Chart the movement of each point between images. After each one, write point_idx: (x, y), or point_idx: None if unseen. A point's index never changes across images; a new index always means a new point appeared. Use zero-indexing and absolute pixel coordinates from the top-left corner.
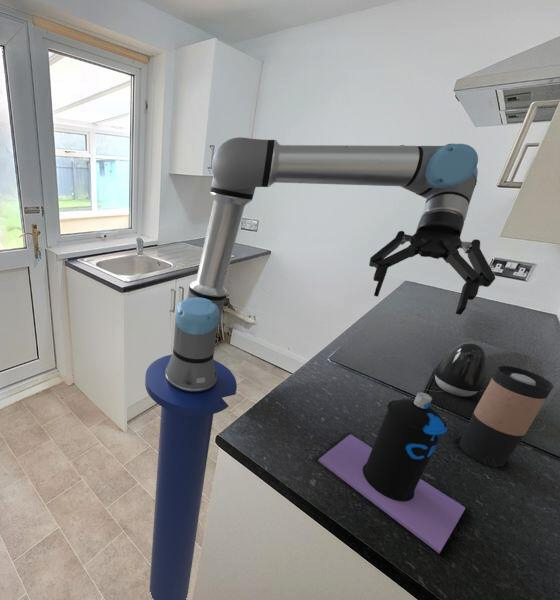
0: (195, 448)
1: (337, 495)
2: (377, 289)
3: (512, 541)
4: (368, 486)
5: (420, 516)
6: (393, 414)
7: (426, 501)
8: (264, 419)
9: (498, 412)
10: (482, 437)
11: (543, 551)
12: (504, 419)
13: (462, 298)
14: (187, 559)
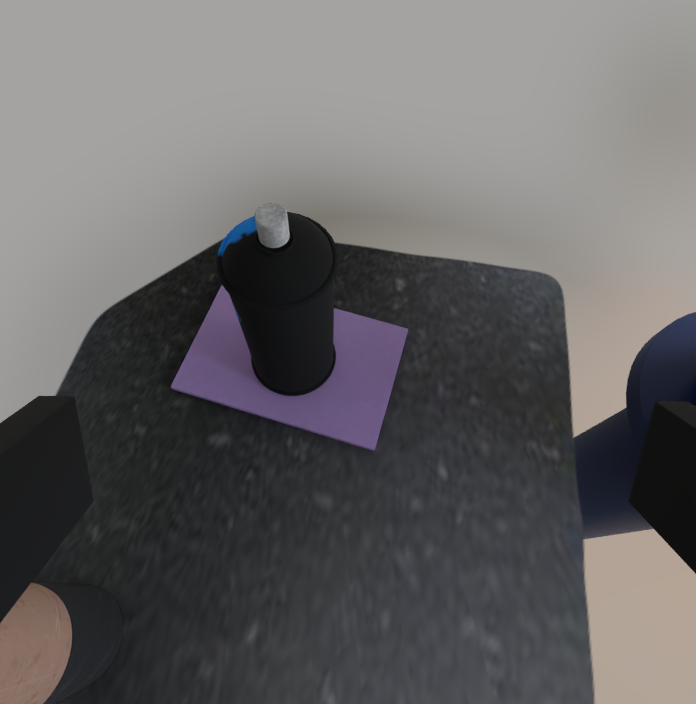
0: (598, 432)
1: (361, 284)
2: (677, 405)
3: (114, 371)
4: None
5: None
6: (324, 229)
7: (232, 355)
8: (539, 370)
9: None
10: (74, 590)
11: (72, 383)
12: None
13: (13, 454)
14: None
